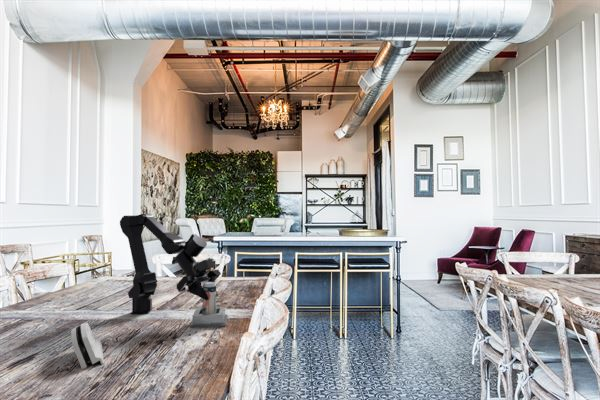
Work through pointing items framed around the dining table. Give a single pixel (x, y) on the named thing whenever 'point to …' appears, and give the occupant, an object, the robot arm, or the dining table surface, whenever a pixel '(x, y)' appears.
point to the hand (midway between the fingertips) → (212, 298)
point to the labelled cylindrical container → (210, 304)
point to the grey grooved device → (86, 345)
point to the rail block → (209, 318)
